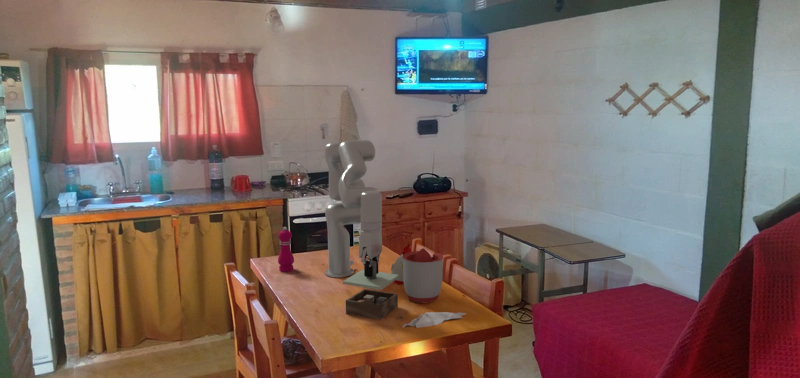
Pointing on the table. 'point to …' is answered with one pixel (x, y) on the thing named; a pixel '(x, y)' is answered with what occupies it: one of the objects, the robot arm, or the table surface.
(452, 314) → the cloth
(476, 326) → the table surface
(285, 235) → the pepper mill
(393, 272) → the kitchen timer
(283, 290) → the table surface
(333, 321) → the table surface
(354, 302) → the box
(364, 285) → the lid
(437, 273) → the citrus juicer
